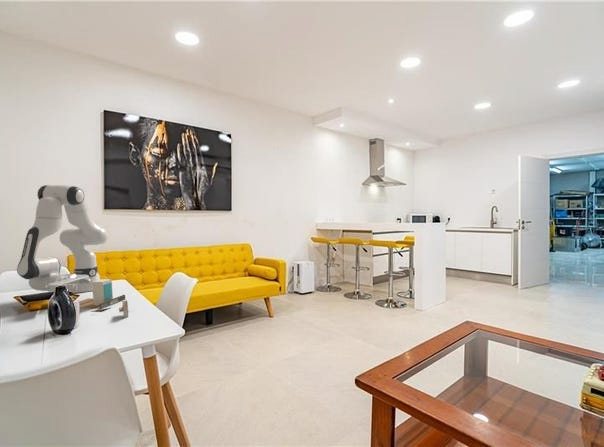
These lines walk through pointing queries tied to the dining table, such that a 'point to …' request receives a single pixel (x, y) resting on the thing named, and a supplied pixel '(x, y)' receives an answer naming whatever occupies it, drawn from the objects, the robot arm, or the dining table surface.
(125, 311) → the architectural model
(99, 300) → the carton
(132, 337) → the dining table surface
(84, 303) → the shelf plank
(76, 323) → the white cup
